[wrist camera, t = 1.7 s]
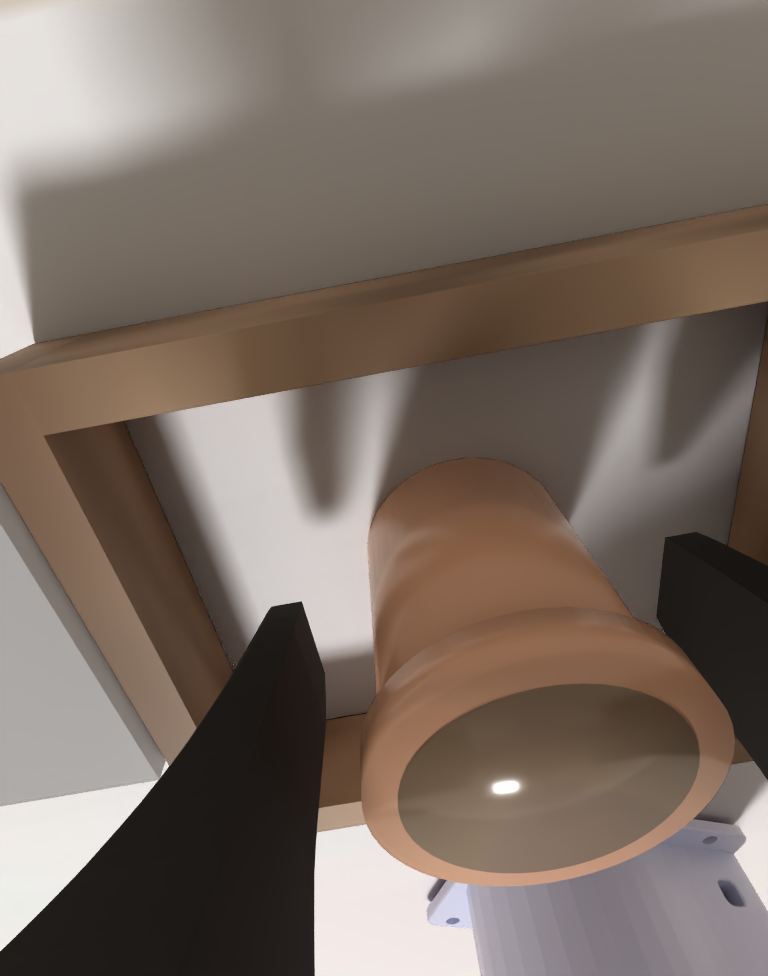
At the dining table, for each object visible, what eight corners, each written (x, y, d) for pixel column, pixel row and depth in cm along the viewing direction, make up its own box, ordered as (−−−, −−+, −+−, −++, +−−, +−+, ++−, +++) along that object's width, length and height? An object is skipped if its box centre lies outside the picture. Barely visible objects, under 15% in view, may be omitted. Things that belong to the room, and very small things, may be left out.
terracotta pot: (611, 480, 12) (819, 699, 7) (515, 643, 14) (614, 903, 9) (396, 416, 11) (443, 618, 6) (329, 603, 13) (317, 872, 8)
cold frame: (845, 189, 9) (997, 186, 7) (737, 674, 15) (803, 752, 13) (33, 343, 10) (-57, 384, 8) (235, 758, 16) (218, 848, 14)
